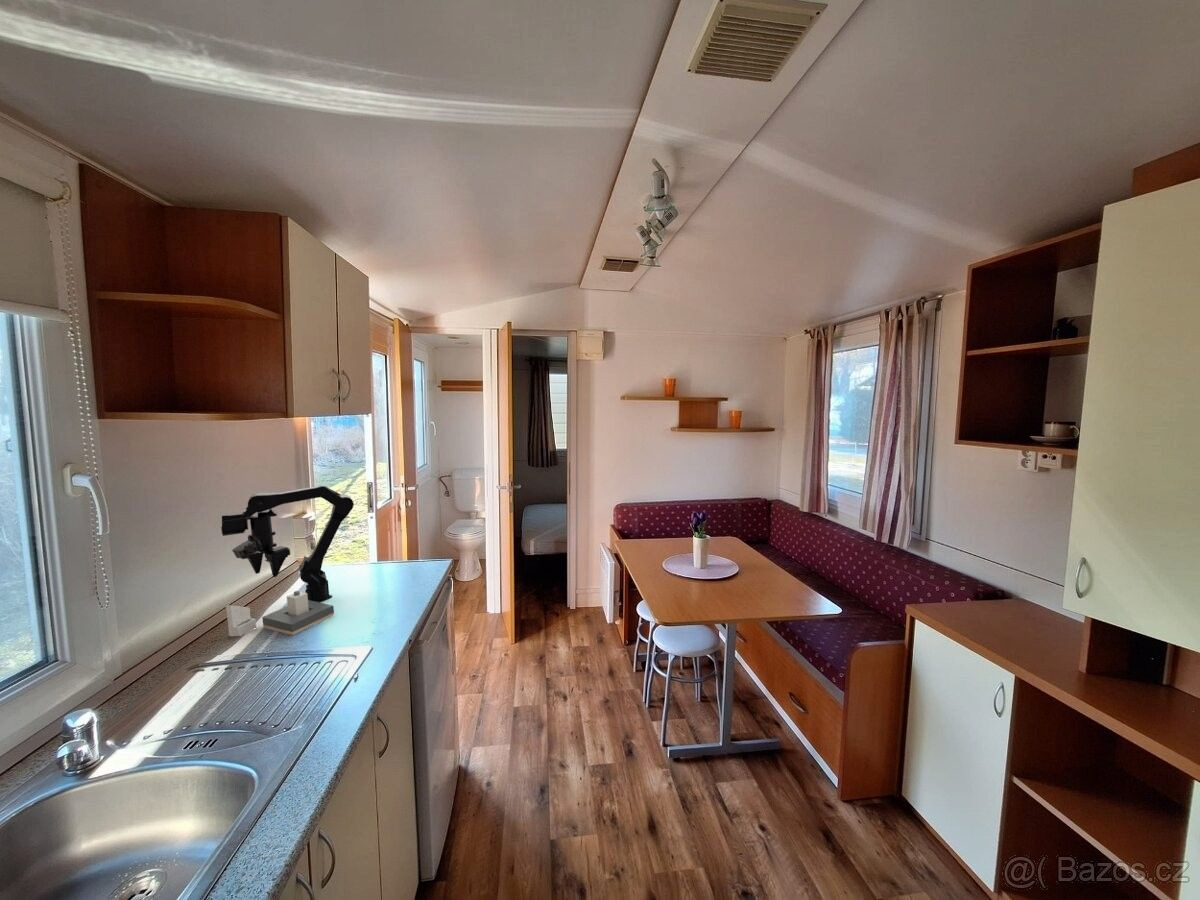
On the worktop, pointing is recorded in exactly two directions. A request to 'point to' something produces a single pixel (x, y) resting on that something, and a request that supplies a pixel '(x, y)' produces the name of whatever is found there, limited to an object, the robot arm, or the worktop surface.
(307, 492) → the robot arm
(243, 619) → the white wedge bracket
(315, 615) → the socket
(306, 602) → the plug
